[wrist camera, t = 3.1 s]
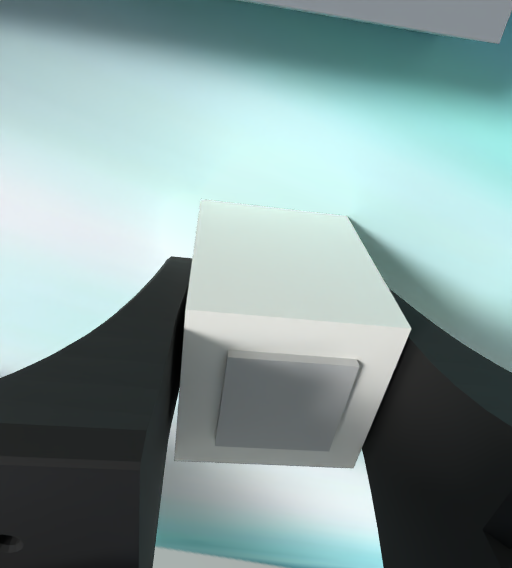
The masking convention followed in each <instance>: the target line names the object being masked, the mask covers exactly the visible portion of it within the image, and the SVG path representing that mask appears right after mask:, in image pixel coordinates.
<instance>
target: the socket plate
mask: <svg viewBox="0 0 512 568" xmlns="http://www.w3.org/2000/svg"><path fill="white" fill-rule="evenodd" d="M237 1H243V2H249V3H255V4H261V5H266V6H272V7H278V8H284V9H289V10H295V11H301V12H307V13H313V14H318V15H324V16H330V17H336V18H341V19H347V20H353V21H359V22H365V23H370V24H376V25H382V26H388V27H394V28H399V29H405V30H411V31H417V32H422V33H428V34H434V35H440V36H447V37H454V38H461V39H468V40H475V41H483V42H490V43H497V44H499V43H500V40H501V38H502V35H503V32H504V30H505V27H506V24H507V22H508V19H509V17H510V14H511V11H512V0H237Z"/></svg>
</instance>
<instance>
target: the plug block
mask: <svg viewBox="0 0 512 568" xmlns="http://www.w3.org/2000/svg"><path fill="white" fill-rule="evenodd" d="M410 331H411V327H410V325H409V323H408V322H407V320H406V318H405V316H404V315H403V313H402V311H401V309H400V308H399V306H398V304H397V302H396V301H395V299H394V297H393V295H392V294H391V292H390V290H389V288H388V287H387V285H386V283H385V281H384V280H383V278H382V276H381V274H380V273H379V271H378V269H377V267H376V266H375V264H374V262H373V260H372V259H371V257H370V255H369V253H368V252H367V250H366V248H365V246H364V245H363V243H362V241H361V239H360V238H359V236H358V234H357V233H356V231H355V229H354V227H353V226H352V224H351V222H350V220H349V219H348V217H347V216H344V215H335V214H327V213H318V212H309V211H301V210H292V209H283V208H275V207H266V206H258V205H249V204H240V203H232V202H223V201H214V200H206V199H200V206H199V214H198V221H197V229H196V236H195V243H194V251H193V258H192V265H191V273H190V280H189V288H188V295H187V302H186V310H185V323H184V337H183V350H182V363H181V377H180V390H179V404H178V417H177V430H176V444H175V457H174V461H191V462H215V463H239V464H262V465H286V466H310V467H333V468H354V466H355V463H356V461H357V459H358V456H359V454H360V451H361V449H362V446H363V444H364V442H365V439H366V437H367V434H368V432H369V430H370V427H371V425H372V422H373V420H374V418H375V415H376V413H377V410H378V408H379V406H380V403H381V401H382V398H383V396H384V394H385V391H386V389H387V386H388V384H389V381H390V379H391V377H392V374H393V372H394V369H395V367H396V365H397V362H398V360H399V357H400V355H401V353H402V350H403V348H404V345H405V343H406V341H407V338H408V336H409V333H410Z"/></svg>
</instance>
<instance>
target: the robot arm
mask: <svg viewBox="0 0 512 568" xmlns="http://www.w3.org/2000/svg"><path fill="white" fill-rule="evenodd" d="M191 265H192V259H191V258H181V257H170V258H169V259H167V260H166V262H165V263H164V265H163V266H162V267H161V268H160V270H159V271H158V272H157V273H156V274H155V276H154V277H153V278H152V279H151V280H150V281H149V282H148V283H147V284H146V285H145V286H144V287H143V288H142V289H141V291H140V292H139V293H138V294H137V295H136V296H135V297H134V298H132V299H131V300H130V301H129V302H128V303H127V304H126V305H125V306H123V307H122V308H121V309H120V310H119V311H118V312H117V313H115V314H114V315H113V316H112V317H110V318H109V319H108V320H107V321H105V322H104V323H103V324H101V325H100V326H99V327H97V328H96V329H94V330H93V331H92V332H90V333H89V334H87V335H86V336H84V337H82V338H81V339H79V340H77V341H75V342H74V343H72V344H70V345H68V346H67V347H65V348H63V349H62V350H60V351H58V352H56V353H54V354H53V355H51V356H49V357H47V358H44V359H42V360H40V361H38V362H36V363H34V364H32V365H30V366H28V367H25V368H23V369H21V370H19V371H17V372H14V373H12V374H10V375H7V376H5V377H2V378H0V568H152V566H153V559H154V550H155V542H156V533H157V525H158V517H159V509H160V500H161V492H162V484H163V476H164V468H165V460H166V452H167V444H168V439H169V433H170V428H171V423H172V419H173V414H174V410H175V406H176V401H177V397H178V392H179V388H180V377H181V363H182V350H183V337H184V323H185V310H186V302H187V295H188V288H189V280H190V273H191ZM389 290H390V289H389ZM390 292H391V294H392V295H393V297H394V299H395V301H396V302H397V304H398V306H399V308H400V309H401V311H402V313H403V315H404V316H405V318H406V320H407V322H408V323H409V325H410V327H411V331H410V333H409V336H408V338H407V341H406V343H405V345H404V348H403V350H402V353H401V355H400V357H399V360H398V362H397V365H396V367H395V369H394V372H393V374H392V377H391V379H390V381H389V384H388V386H387V389H386V391H385V394H384V396H383V398H382V401H381V403H380V406H379V408H378V410H377V413H376V415H375V418H374V420H373V422H372V425H371V427H370V430H369V432H368V434H367V437H366V439H365V442H364V444H363V446H362V451H363V455H364V459H365V464H366V469H367V474H368V479H369V484H370V489H371V494H372V500H373V505H374V511H375V516H376V522H377V527H378V534H379V540H380V547H381V553H382V560H383V566H384V568H512V373H511V372H509V371H507V370H506V369H504V368H502V367H500V366H498V365H496V364H495V363H493V362H491V361H490V360H488V359H486V358H485V357H483V356H481V355H480V354H478V353H476V352H475V351H473V350H471V349H470V348H468V347H467V346H465V345H464V344H462V343H461V342H459V341H458V340H456V339H455V338H453V337H452V336H451V335H449V334H448V333H446V332H445V331H443V330H442V329H441V328H439V327H438V326H436V325H435V324H434V323H432V322H431V321H430V320H428V319H427V318H426V317H424V316H423V315H422V314H420V313H419V312H418V311H417V310H415V309H414V308H413V307H411V306H410V305H409V304H408V303H406V302H405V301H404V300H403V299H401V298H400V297H399V296H398V295H396V294H395V293H394V292H393V291H391V290H390Z"/></svg>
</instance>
